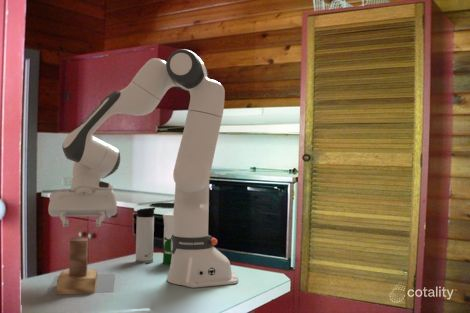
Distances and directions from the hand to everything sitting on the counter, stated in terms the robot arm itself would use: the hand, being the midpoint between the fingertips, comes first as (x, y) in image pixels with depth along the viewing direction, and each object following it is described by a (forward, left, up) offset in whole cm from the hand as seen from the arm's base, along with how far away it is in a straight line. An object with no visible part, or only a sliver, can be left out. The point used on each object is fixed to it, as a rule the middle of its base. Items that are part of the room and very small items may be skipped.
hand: (81, 225), depth 140 cm
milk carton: (-31, -24, -18) cm, 43 cm away
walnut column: (0, +7, -13) cm, 15 cm away
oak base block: (0, +7, -17) cm, 18 cm away
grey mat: (-1, +2, -18) cm, 18 cm away
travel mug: (-20, -27, -18) cm, 38 cm away
